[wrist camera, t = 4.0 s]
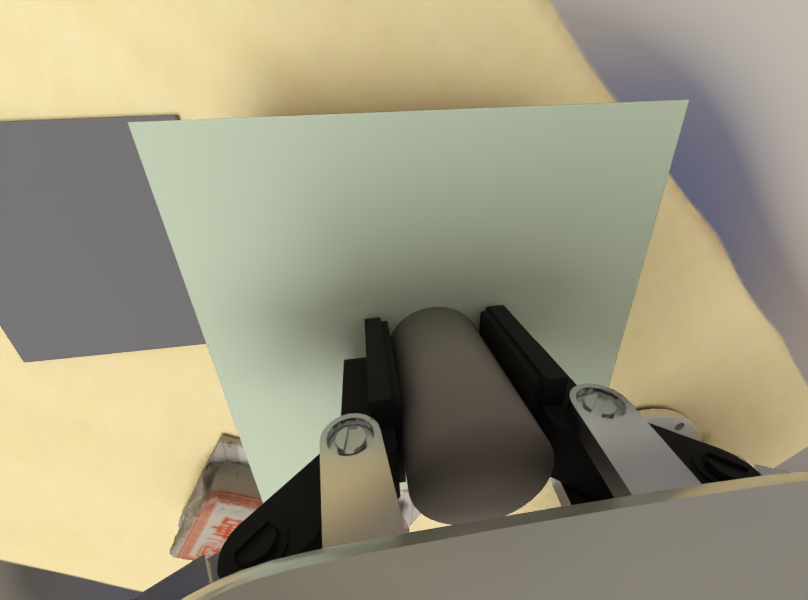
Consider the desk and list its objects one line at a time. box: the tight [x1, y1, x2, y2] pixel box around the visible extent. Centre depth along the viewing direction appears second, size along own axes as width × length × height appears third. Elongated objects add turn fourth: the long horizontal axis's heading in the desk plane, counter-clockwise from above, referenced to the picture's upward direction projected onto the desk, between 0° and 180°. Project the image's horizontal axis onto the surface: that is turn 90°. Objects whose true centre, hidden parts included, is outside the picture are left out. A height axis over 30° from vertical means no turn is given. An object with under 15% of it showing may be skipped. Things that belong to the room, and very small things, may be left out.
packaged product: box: [170, 435, 421, 561], centre depth 26 cm, size 18×5×10 cm
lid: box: [128, 100, 689, 525], centre depth 10 cm, size 14×14×7 cm
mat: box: [0, 115, 206, 362], centre depth 17 cm, size 12×12×1 cm
